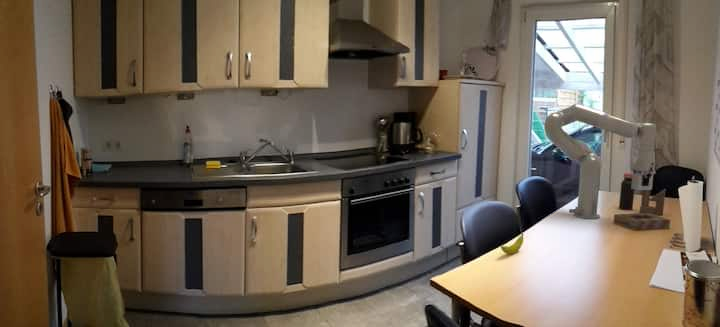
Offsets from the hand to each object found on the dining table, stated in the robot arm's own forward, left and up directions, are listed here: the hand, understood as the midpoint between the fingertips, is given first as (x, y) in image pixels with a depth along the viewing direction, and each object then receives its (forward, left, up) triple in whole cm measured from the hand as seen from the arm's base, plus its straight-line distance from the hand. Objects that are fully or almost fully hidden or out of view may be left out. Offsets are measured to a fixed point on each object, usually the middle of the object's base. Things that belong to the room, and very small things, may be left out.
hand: (641, 184), depth 264 cm
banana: (-92, -34, -20) cm, 100 cm away
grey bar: (0, 0, -2) cm, 2 cm away
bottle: (+17, +28, -20) cm, 38 cm away
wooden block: (+23, +16, -20) cm, 35 cm away
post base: (-4, -6, -19) cm, 21 cm away
